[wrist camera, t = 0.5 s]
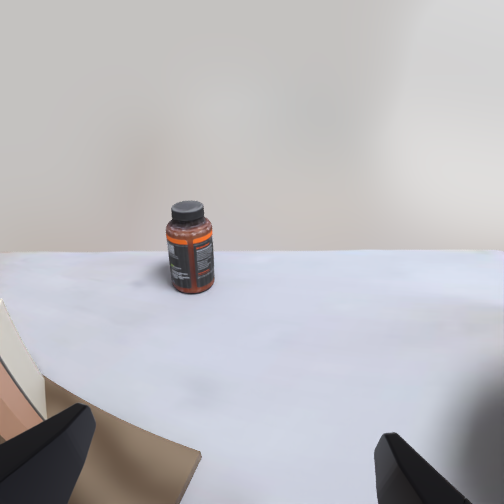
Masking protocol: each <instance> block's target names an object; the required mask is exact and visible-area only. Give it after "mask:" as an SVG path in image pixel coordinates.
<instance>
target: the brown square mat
mask: <svg viewBox="0 0 504 504" xmlns="http://www.w3.org/2000/svg"><path fill="white" fill-rule="evenodd" d="M42 376H43V375H42ZM43 378H44V379H45V399H46V412H47V419H48V418H50V417H52V416H54V415H56V414H57V413H59V412H61V411H63V410H65V409H66V408H68V407H70V406H72V405H73V404H75V403H83V404H86V405H88V406H89V407H90V408H91V411H92V413H93V416H94V419H95V421H96V429H95V432H94V435H93V438H92V441H91V445H90V448H89V451H88V454H87V458H86V461H85V464H84V466H83V469H82V471H81V473H80V475H79V478H78V480H77V482H76V485H75V487H74V489H73V492H72V494H71V497H70V499H69V501H68V504H179V503H180V501H181V499H182V497H183V495H184V493H185V491H186V489H187V487H188V485H189V483H190V481H191V479H192V477H193V475H194V472H195V470H196V468H197V466H198V464H199V462H200V460H201V458H202V456H201V452H200V451H197V450H194V449H192V448H189V447H186V446H183V445H180V444H178V443H175V442H173V441H170V440H167V439H165V438H162V437H160V436H157V435H155V434H153V433H150V432H148V431H146V430H143V429H141V428H139V427H137V426H134V425H132V424H130V423H128V422H126V421H124V420H121V419H119V418H117V417H115V416H113V415H111V414H109V413H107V412H105V411H103V410H101V409H100V408H98V407H96V406H94V405H92V404H90V403H88V402H87V401H85V400H83V399H81V398H79V397H78V396H76V395H74V394H72V393H71V392H69V391H67V390H66V389H64V388H62V387H61V386H59V385H57V384H56V383H54V382H53V381H51V380H50V379H48V378H46V377H45V376H43ZM5 441H6V440H5V439H4V438H3V437H2V436H1V435H0V444H2V443H4V442H5Z"/></svg>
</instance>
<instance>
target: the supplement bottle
mask: <svg viewBox="0 0 504 504" xmlns="http://www.w3.org/2000/svg"><path fill="white" fill-rule="evenodd" d="M203 209H204V208H203V204H202V203H200V202H198V201H182V202H179V203H176V204H174V205H173V206H172V208H171V210H172V220H171V221H170V222H169V223H168V225H167V227H166V236H167V245H168V254H169V261H170V269H171V276H172V282H173V285H174V287H175V288H176V289H178V290H179V291H181V292H185V293H198V292H202V291H205V290H207V289H208V288H210V287H211V286H212V285H213V283H214V276H215V274H214V257H213V256H214V255H213V237H212V225H211V222H210V221H209V220H208V219H207V218H205V217H204V210H203Z"/></svg>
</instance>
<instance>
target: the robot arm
mask: <svg viewBox="0 0 504 504" xmlns="http://www.w3.org/2000/svg"><path fill="white" fill-rule="evenodd" d="M95 429H96V421H95V419H94V416H93V413H92V411H91V408H90V407H89V406H88V405H86V404H83V403H75V404H73V405H72V406H70V407H68V408H66V409H65V410H63V411H61V412H59V413H57V414H56V415H54V416H52V417H50V418H48V419H47V420H45V421H43V422H41V423H39V424H37V425H36V426H34V427H32V428H30V429H28V430H26V431H24V432H23V433H21V434H19V435H17V436H15V437H13V438H11V439H9V440H7V441H5V442H4V443H2V444H0V504H68V501H69V499H70V497H71V494H72V492H73V489H74V487H75V485H76V482H77V480H78V478H79V475H80V473H81V471H82V469H83V466H84V464H85V461H86V458H87V454H88V451H89V448H90V445H91V441H92V438H93V435H94V432H95ZM374 460H375V473H376V489H377V498H378V504H472V503H471V502H470V501H469V500H468V499H467V498H465V497H464V496H463V495H462V494H461V493H460V492H459V491H458V490H457V489H456V488H455V487H453V486H452V485H451V484H450V483H449V482H448V481H447V480H446V479H445V478H444V477H443V476H442V475H441V474H439V473H438V472H437V471H436V470H435V469H434V468H433V467H432V466H431V465H430V464H429V463H428V462H427V461H426V460H425V459H423V458H422V457H421V456H420V455H419V454H418V453H417V452H416V451H415V450H414V449H413V448H412V447H411V446H410V445H409V444H408V443H407V442H406V441H405V440H404V439H403V438H401V437H400V436H399V435H398V434H397V433H395V432H392V433H385V434H383V435H382V436H381V438H380V440H379V442H378V444H377V446H376V448H375V451H374Z"/></svg>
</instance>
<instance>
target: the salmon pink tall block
mask: <svg viewBox="0 0 504 504" xmlns="http://www.w3.org/2000/svg"><path fill="white" fill-rule="evenodd" d="M41 422H43V420H42V419H41V418H40V417H39V415H38V414H37V413H36V412H35V410H34V409H33V408H32V406H31V405H30V404H29V402H28V401H27V400H26V399H25V397H24V396H23V394H22V393H21V392H20V390H19V389H18V388H17V386H16V385H15V383H14V382H13V380H12V379H11V377H10V376H9V374H8V373H7V371H6V370H5V368H4V367H3V365H2V364H1V362H0V435H1V436H2V437H3V438H4V439H5V440H6V441H7V440H9V439H11V438H13V437H15V436H17V435H19V434H21V433H23V432H24V431H26V430H28V429H30V428H32V427H34V426H36V425H37V424H39V423H41Z"/></svg>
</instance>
